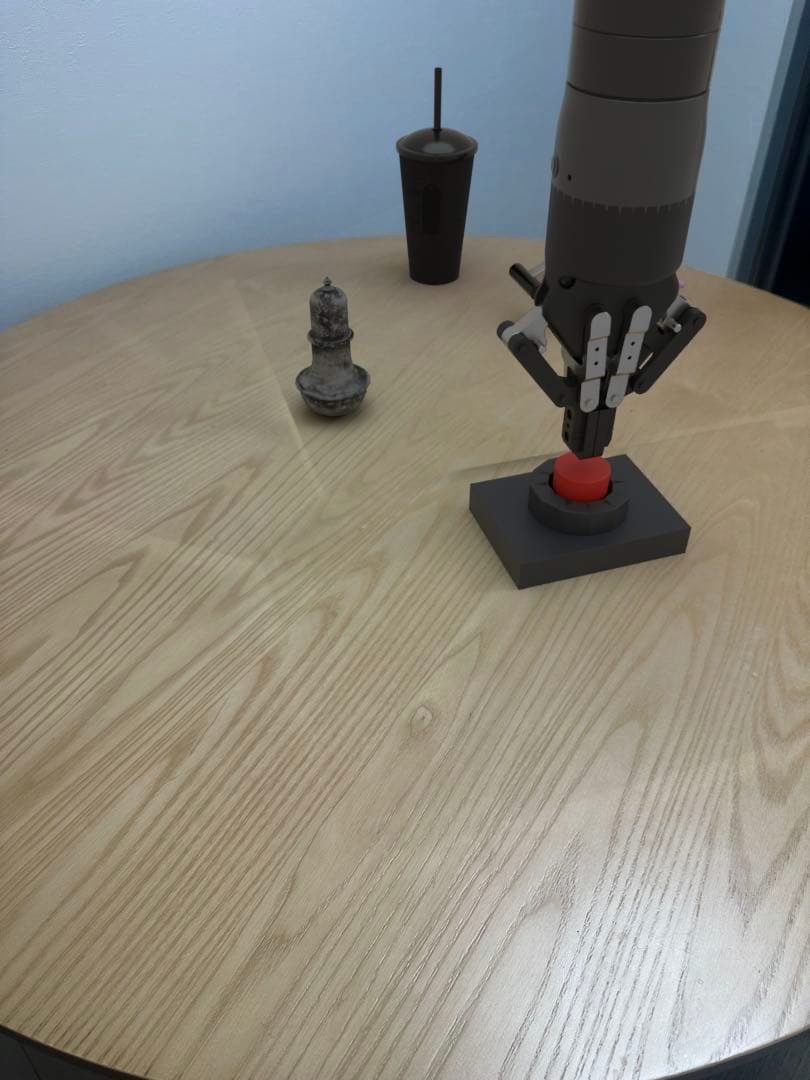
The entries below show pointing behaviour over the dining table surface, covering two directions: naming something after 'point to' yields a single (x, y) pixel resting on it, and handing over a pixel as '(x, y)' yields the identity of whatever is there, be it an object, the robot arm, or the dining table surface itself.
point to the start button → (581, 478)
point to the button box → (575, 524)
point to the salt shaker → (331, 357)
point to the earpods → (681, 284)
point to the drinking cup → (435, 195)
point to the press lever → (527, 277)
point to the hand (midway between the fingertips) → (584, 451)
